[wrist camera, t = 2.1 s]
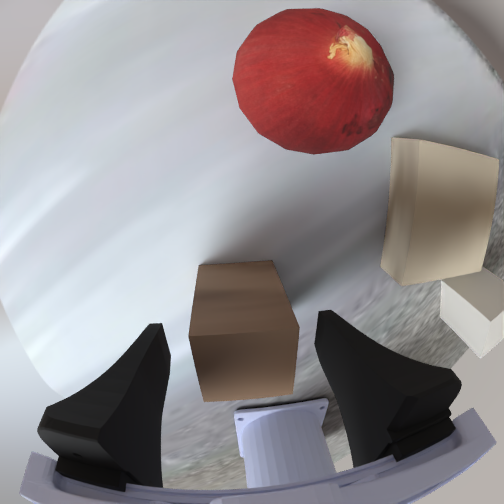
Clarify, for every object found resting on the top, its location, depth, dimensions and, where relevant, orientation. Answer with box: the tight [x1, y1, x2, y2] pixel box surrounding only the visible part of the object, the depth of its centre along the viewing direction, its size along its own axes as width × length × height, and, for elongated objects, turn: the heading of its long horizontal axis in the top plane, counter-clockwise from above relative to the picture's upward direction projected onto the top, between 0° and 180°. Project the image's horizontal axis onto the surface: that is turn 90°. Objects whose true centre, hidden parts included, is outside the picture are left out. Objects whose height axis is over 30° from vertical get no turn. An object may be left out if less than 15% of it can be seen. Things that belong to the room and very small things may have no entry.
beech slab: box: [380, 137, 499, 286], centre depth 14 cm, size 8×8×3 cm
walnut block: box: [189, 260, 300, 402], centre depth 13 cm, size 4×4×6 cm
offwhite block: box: [440, 266, 504, 359], centre depth 15 cm, size 4×4×6 cm
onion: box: [232, 8, 394, 154], centre depth 8 cm, size 6×6×8 cm
